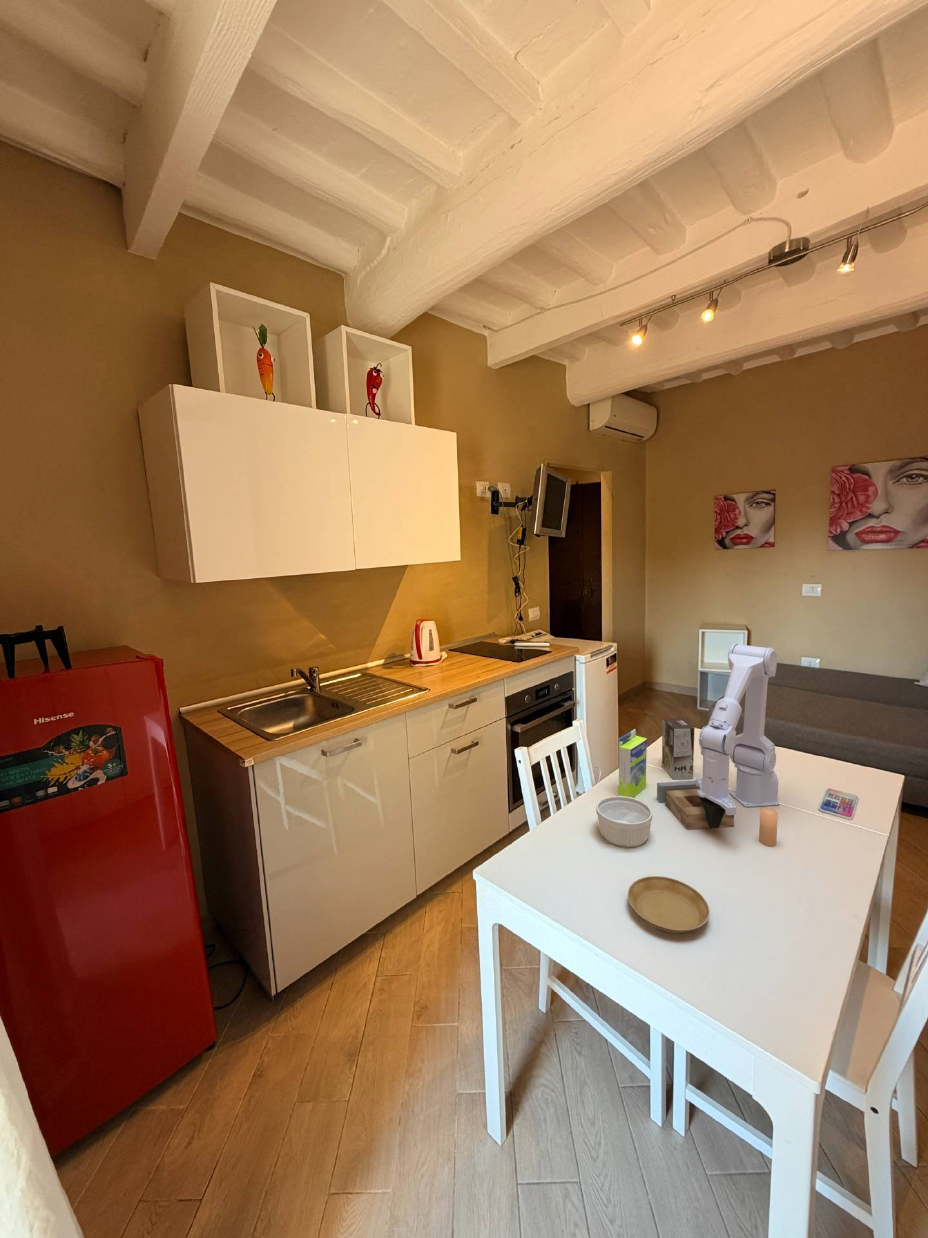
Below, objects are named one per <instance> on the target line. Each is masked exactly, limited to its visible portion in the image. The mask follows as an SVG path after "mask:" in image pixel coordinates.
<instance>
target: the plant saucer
mask: <svg viewBox="0 0 928 1238" xmlns="http://www.w3.org/2000/svg"><path fill="white" fill-rule="evenodd" d="M627 898H628V902H629V904H630V906H631V907H632V909H633V911H635V913H636V914H637V915H638V916H639V917H640V918H641V919H642V920H643V921H644V922H646V923H647V924H648V925H650V926H651V927H653V928H655V929H658V930H660V931H662V932H665V933H666V932H667V933H670V934H671V933H673V934H686V933H690V932H693V931H695V930H697V929H699V928H701V927H702V926H704V925H705V924H706V922H708V919H709V918H710V907H709V904H708V902H707V900H706V899H705V898H704V896H703V895H702V894H701V893H700V892H699V891H698V890H696V889H695V888H694V887H692V886H690V885H688V884H687V883H685V882H684V881H681V880H678V879H675V878H671V877H668V876H660V875H651V876H644V877H642V878H639V879H637V880H635V881H634V882H632V883H631V884H630V885H629V888H628V890H627Z"/></svg>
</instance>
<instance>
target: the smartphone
mask: <svg viewBox="0 0 928 1238" xmlns="http://www.w3.org/2000/svg"><path fill="white" fill-rule="evenodd" d="M859 799H860V797H859V796H858V795H856V794H852V793H850V792H849V793H848V792H844V791H840V790H837V789H834V788H826V789H825V791H824V794H823V795H822V799H821V801H820V803H819V807H818V812H820V813H822V814H826V815H830V816H833V817H837V818H840V819H845V820H847V821H852V820H854V818H855V815H856V810H857V807H858V804H859V803H858V802H859Z"/></svg>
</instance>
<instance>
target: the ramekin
mask: <svg viewBox="0 0 928 1238" xmlns="http://www.w3.org/2000/svg"><path fill="white" fill-rule="evenodd" d="M595 809H596V810H595V813H596V815H597V821H598V828H599V831H600V834H601V835H602V837H604V839H605V840H606V841H608V842H610V843H611V844H613V845H616V846H619V847H623V848H624V847H625V848H633V847H639V846H641V845H643V844H644V843H645V842H646V841H648V839H649V836H650V832H651V825H652V820H653V810H652V808H651V807H650V806H649V805H648V804H647V803H646V802H644V801H642V800H640V799H638V798H635V797H634V798H632V797H626V796H619V795H612V796H607V797H604V798H602V799H600V800H599V801H598V802H597V804H596V808H595Z"/></svg>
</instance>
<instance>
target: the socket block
mask: <svg viewBox="0 0 928 1238" xmlns="http://www.w3.org/2000/svg"><path fill="white" fill-rule="evenodd" d="M697 791H700V789H689V790H674V791H666V792H665V803H664V805H665V806H666V807H667V809H668V810H669V811H670V812H671V813H672V814H673V815H674V816H675V818H676V819H677V820H678V821H679V823H680V824H682V826H683V827H684V828H685V830H687V831H688V830H701V829H711V828H710V827H709V825H708V822H707V818H706V813H705V810H704V807H703V805H702V803H701V801H700V799H699V797H700V796H699V795H698V794H697ZM730 827H731V828H733V827H735V815H727V814H726V813H725V814H724V816H723V818H722V821H721V823H720V826H719V828H730Z"/></svg>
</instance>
